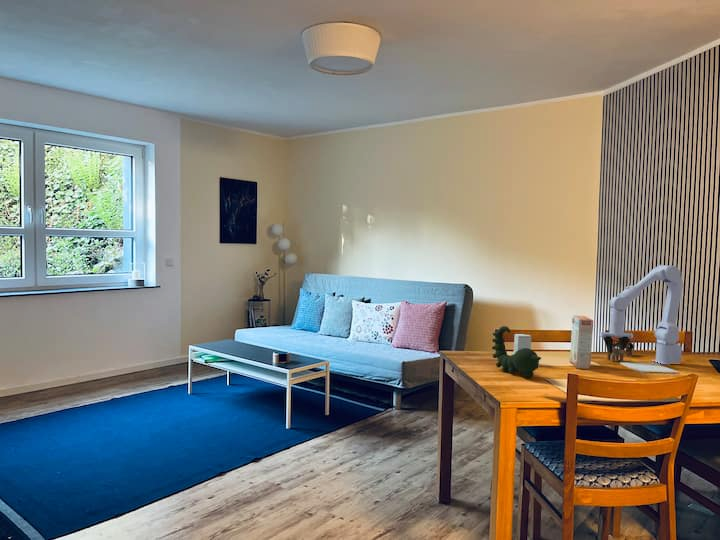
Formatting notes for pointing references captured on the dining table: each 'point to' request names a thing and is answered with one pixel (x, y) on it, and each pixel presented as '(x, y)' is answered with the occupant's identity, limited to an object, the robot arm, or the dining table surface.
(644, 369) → the grey mat
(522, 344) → the skincare box
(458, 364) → the dining table surface
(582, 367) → the cracker box
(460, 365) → the dining table surface
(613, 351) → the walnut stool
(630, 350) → the pottery mug
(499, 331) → the toy figurine
